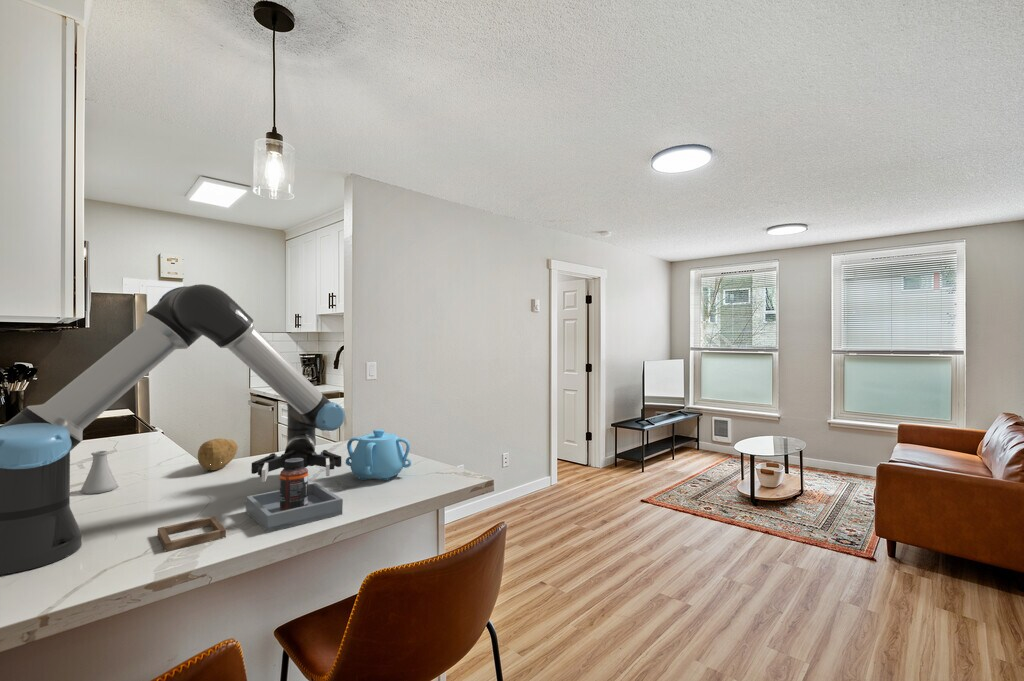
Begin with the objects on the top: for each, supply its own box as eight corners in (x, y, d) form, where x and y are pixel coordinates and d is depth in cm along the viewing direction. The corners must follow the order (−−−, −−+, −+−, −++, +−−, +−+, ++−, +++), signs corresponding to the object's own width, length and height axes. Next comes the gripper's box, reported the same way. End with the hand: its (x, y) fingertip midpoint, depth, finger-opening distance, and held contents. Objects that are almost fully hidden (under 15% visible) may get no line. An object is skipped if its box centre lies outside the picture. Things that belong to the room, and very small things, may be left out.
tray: (267, 532, 100) (267, 515, 100) (246, 511, 112) (246, 496, 112) (342, 514, 111) (342, 499, 111) (315, 496, 123) (315, 483, 123)
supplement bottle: (313, 507, 113) (313, 458, 113) (290, 515, 108) (290, 464, 107) (297, 502, 116) (297, 455, 116) (274, 509, 111) (274, 460, 110)
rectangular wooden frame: (165, 551, 91) (165, 543, 91) (157, 535, 98) (157, 528, 98) (225, 537, 98) (225, 529, 98) (214, 522, 105) (214, 516, 105)
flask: (124, 486, 129) (125, 449, 129) (99, 495, 122) (99, 455, 121) (100, 485, 129) (100, 448, 129) (73, 494, 122) (73, 454, 122)
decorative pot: (342, 473, 144) (342, 428, 144) (393, 465, 154) (393, 422, 154) (359, 487, 131) (360, 437, 131) (415, 478, 140) (415, 431, 140)
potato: (245, 460, 156) (245, 432, 156) (219, 474, 141) (219, 442, 141) (217, 461, 156) (217, 432, 156) (188, 474, 140) (188, 442, 140)
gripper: (348, 462, 136) (352, 483, 116) (248, 470, 127) (234, 495, 107) (348, 435, 136) (353, 452, 116) (248, 441, 127) (235, 461, 107)
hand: (296, 473), depth 112 cm, fingers open, 13 cm apart
